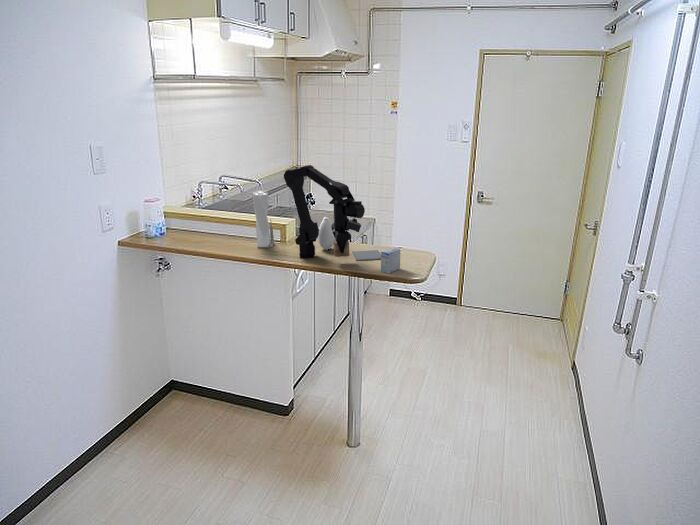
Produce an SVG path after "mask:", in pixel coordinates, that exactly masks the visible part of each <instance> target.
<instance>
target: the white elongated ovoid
mask: <svg viewBox="0 0 700 525" xmlns="http://www.w3.org/2000/svg"><path fill="white" fill-rule="evenodd" d="M332 224H333V223H332V221H331V220H330V217H327V213H325V216H324V217H323V219H322V221H321V223H320V225H319V226H318V229H319V235H318V237H317V240H318V244H319V246H320V247H321V248H322V249H323V250H325V251H329V250H331V248H333V239H335V237H334V235H333V231H334V230H333V231H332V229H331V225H332ZM328 249H329V250H328Z"/></svg>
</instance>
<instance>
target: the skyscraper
mask: <svg viewBox="0 0 700 525" xmlns="http://www.w3.org/2000/svg"><path fill="white" fill-rule="evenodd" d="M252 203H253V211H254V215H255V225H256V226H255V229H256V230H255V232H256V245H257V249H267V248H268V249H272V248H273V247H274V245H275V244H274V243H275V240H274V227H273V222H272V219H271V218H270V222H269V219H268V212H269V193H268V191H267V190H265V189H257V191H252ZM269 223H270V225H269Z"/></svg>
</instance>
